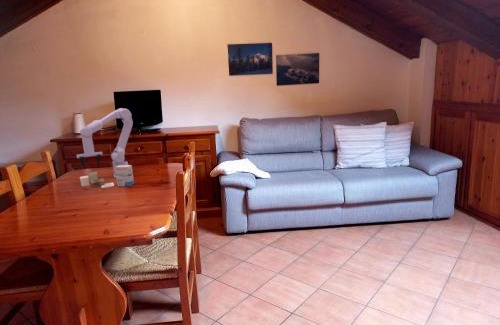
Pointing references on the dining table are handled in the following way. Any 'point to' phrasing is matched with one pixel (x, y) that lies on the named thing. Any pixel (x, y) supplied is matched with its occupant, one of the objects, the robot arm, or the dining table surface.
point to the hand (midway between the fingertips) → (91, 167)
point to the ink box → (124, 175)
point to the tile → (108, 185)
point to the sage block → (93, 176)
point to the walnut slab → (97, 183)
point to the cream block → (84, 180)
